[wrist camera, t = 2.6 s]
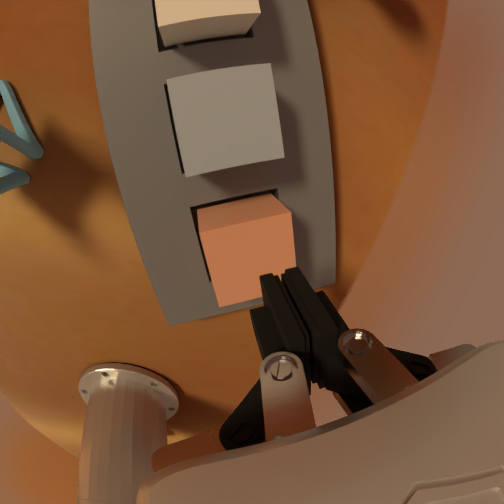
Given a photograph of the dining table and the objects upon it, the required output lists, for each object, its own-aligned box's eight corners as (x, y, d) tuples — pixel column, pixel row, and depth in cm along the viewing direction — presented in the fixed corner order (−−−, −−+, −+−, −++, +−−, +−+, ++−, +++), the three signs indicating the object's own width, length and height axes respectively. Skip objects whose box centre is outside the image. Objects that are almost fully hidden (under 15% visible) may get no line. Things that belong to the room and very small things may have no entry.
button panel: (321, 266, 25) (335, 283, 23) (170, 303, 24) (169, 325, 21) (278, -40, 12) (290, -56, 9) (99, -13, 10) (88, -28, 8)
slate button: (264, 149, 17) (284, 157, 13) (186, 165, 16) (186, 177, 13) (252, 75, 15) (270, 63, 11) (171, 89, 14) (166, 79, 11)
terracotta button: (279, 257, 21) (297, 287, 17) (213, 274, 20) (219, 307, 17) (270, 193, 18) (291, 212, 15) (197, 209, 18) (199, 232, 14)
